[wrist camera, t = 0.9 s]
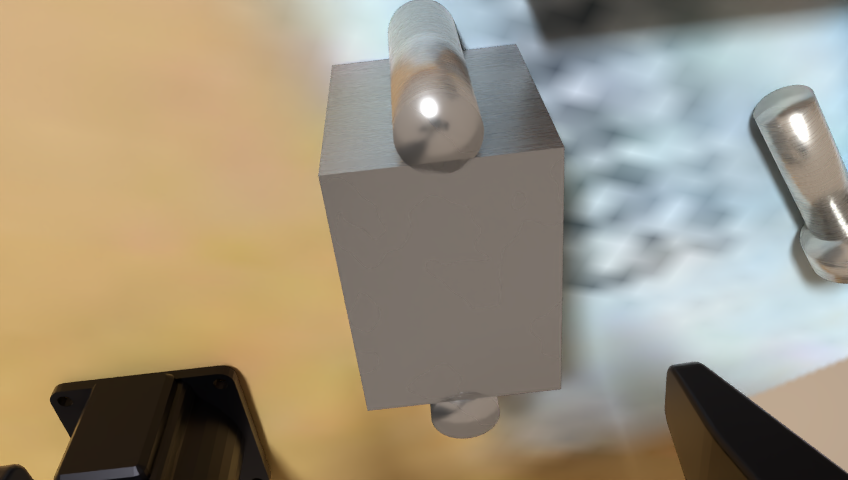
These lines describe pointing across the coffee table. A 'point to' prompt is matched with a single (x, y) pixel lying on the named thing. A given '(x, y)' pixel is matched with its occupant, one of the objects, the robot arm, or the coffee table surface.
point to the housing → (446, 222)
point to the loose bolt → (810, 174)
